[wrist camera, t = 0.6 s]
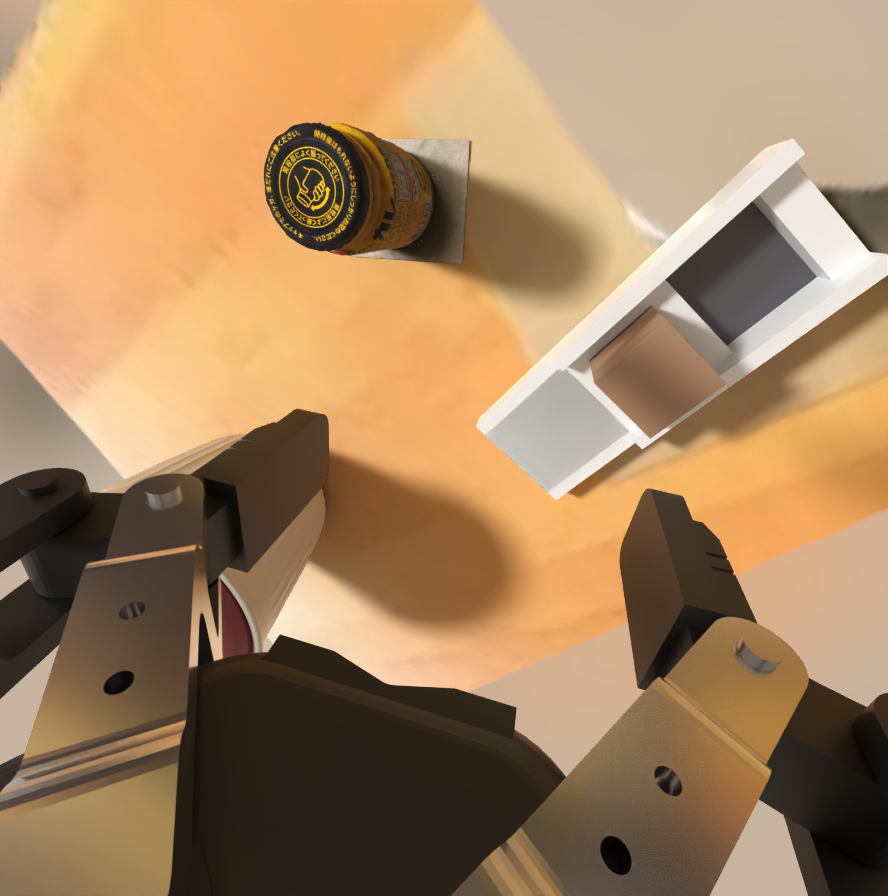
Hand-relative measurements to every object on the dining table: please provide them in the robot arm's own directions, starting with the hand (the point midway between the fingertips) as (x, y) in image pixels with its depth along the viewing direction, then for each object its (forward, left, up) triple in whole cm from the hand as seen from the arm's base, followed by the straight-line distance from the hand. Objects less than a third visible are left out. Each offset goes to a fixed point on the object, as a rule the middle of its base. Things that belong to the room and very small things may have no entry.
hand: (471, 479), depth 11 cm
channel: (-3, +8, -24) cm, 26 cm away
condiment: (+1, -11, -25) cm, 27 cm away
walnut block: (-3, +8, -22) cm, 24 cm away
